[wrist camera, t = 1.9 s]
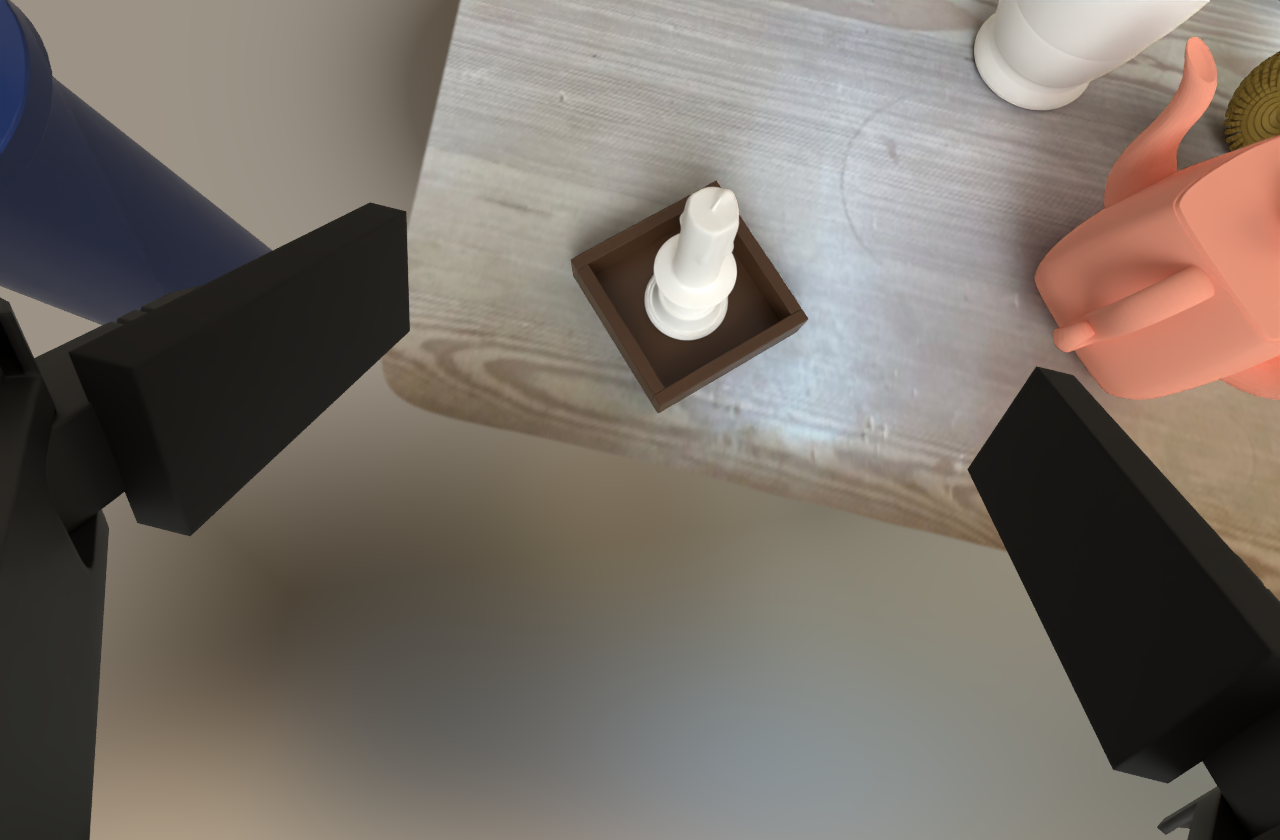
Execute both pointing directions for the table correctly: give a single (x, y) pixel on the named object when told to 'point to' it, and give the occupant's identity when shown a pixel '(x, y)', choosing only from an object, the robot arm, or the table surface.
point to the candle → (695, 268)
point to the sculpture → (1255, 106)
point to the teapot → (1175, 262)
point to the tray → (667, 363)
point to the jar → (1067, 44)
